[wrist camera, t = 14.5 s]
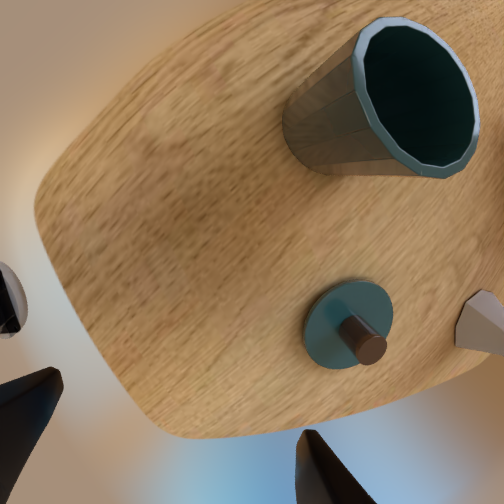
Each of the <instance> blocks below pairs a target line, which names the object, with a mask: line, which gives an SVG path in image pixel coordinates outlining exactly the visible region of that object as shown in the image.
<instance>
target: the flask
mask: <svg viewBox="0 0 504 504" xmlns="http://www.w3.org/2000/svg"><path fill="white" fill-rule="evenodd" d="M456 347H460V348H465V349H471V350H477V351H483V352H488V353H493V354H498V355H502V356H504V307H503V306H502V304H501V303H500V302H499V300H498V299H497V298H496V296H495V295H494V294H493V293H491V292H488V291H484V290H481V291H479V292H478V293H477V294H476V295H475V296H473V297H472V298H471V299H469V300H468V301H467V302H466V303H465V306H464V309H463V311H462V314H461V316H460V318H459V321H458V323H457V325H456Z"/></svg>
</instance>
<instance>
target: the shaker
mask: <svg viewBox="0 0 504 504" xmlns="http://www.w3.org/2000/svg"><path fill="white" fill-rule="evenodd" d="M282 127H283V133H284V137H285V140H286V143H287V145H288V147H289V149H290V150H291V152H292V153H293V155H294V156H295V157H296V158H297V159H298V160H299V161H300V162H301V163H302V164H303V165H305V166H306V167H308V168H309V169H311V170H313V171H315V172H318V173H320V174H324V175H332V176H334V175H335V176H388V177H414V178H432V179H446V178H448V177H450V176H452V175H454V174H456V173H458V172H460V171H462V170H463V169H464V168H465V167H466V165H467V164H468V162H469V161H470V159H471V157H472V156H473V154H474V153H475V150H476V147H477V142H478V137H479V131H480V116H479V107H478V100H477V96H476V93H475V90H474V87H473V85H472V82H471V80H470V77H469V75H468V72H467V71H466V69H465V67H464V66H463V64H462V63H461V61H460V60H459V58H458V57H457V55H456V54H455V53H454V51H453V50H452V49H451V47H450V46H449V45H448V44H447V43H446V42H445V41H444V40H442V39H441V38H440V37H439V36H438V35H436V34H435V33H434V32H433V31H432V30H430V29H429V28H428V27H426V26H424V25H422V24H419V23H417V22H414V21H412V20H410V19H407V18H404V17H379V18H377V19H375V20H374V21H372V22H371V23H370V24H368V25H367V26H365V27H364V28H362V29H361V30H360V31H359V32H357V33H356V34H355V35H354V36H353V37H352V38H351V39H349V40H348V41H347V42H346V43H345V44H344V45H343V46H342V47H340V48H339V49H338V50H337V51H336V52H335V53H334V54H333V55H332V56H331V57H329V58H328V59H327V60H326V61H325V62H324V63H323V64H322V65H321V66H320V67H319V68H318V69H317V70H316V71H315V72H313V73H312V74H311V75H310V76H309V77H308V78H307V79H306V80H305V81H304V82H303V83H302V84H301V85H300V86H299V87H298V88H297V89H296V90H295V91H294V92H293V93H292V94H291V96H290V98H289V99H288V101H287V103H286V105H285V108H284V111H283V116H282Z"/></svg>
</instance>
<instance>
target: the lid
mask: <svg viewBox="0 0 504 504" xmlns="http://www.w3.org/2000/svg"><path fill="white" fill-rule="evenodd" d="M392 320H393V307H392V302H391V300H390V297H389V296H388V294H387V293H386V291H385V290H384V289H383V288H381V287H380V286H379V285H377V284H375V283H374V282H371V281H368V280H363V279H356V280H349V281H345V282H342V283H340V284H338V285H336V286H334V287H332V288H331V289H329V290H328V291H326V292H325V293H324V294H323V295H322V296H321V297H320V298H319V299H318V300H317V301H316V302H315V304H314V305H313V306H312V308H311V310H310V311H309V313H308V316H307V318H306V321H305V324H304V329H303V341H304V345H305V348H306V350H307V352H308V354H309V356H310V357H311V358H312V359H313V360H314V361H315V362H316V363H317V364H319V365H321V366H323V367H325V368H329V369H345V368H349V367H352V366H355V365H357V364H360V363H361V364H363V365H371V364H374V363H376V362H377V361H378V360H380V359H381V358H382V356H383V355H384V353H385V351H386V349H387V342H386V337H387V335H388V333H389V331H390V328H391V325H392Z"/></svg>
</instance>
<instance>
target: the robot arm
mask: <svg viewBox="0 0 504 504" xmlns="http://www.w3.org/2000/svg"><path fill="white" fill-rule="evenodd" d="M16 327H17V328H16ZM20 330H21V326H20V323H19V321H18V318H17V316H16V313H15V310H14V308H13V305H12V302H11V299H10V296H9V293H8V290H7V287H6V284H5V281H4V277H3V274H2V271H1V269H0V334H6V333H18V332H19V331H20ZM63 388H64V385H63V381H62V377H61V373H60V371H59V370H58V369H56V368H54V367H47V368H45V369H42V370H39V371H37V372H34V373H31V374H28V375H26V376H23V377H20V378H18V379H15V380H12V381H9V382H6V383H4V384H1V385H0V504H6V502H7V500H8V498H9V496H10V493H11V491H12V489H13V487H14V484H15V483H16V481H17V479H18V477H19V475H20V473H21V471H22V469H23V467H24V465H25V463H26V461H27V459H28V458H29V456H30V454H31V452H32V450H33V449H34V447H35V445H36V443H37V441H38V440H39V438H40V436H41V434H42V433H43V431H44V429H45V427H46V426H47V424H48V422H49V420H50V418H51V416H52V414H53V412H54V410H55V407H56V405H57V403H58V401H59V398H60V396H61V394H62V392H63ZM295 489H296V501H297V504H377V503H376V502H375V501H374V500H373V499H372V498H371V497H370V495H368V494H367V492H366V491H365V490H364V489H363V487H362V486H361V485H360V484H359V483H358V481H357V480H356V479H355V478H354V477H353V476H352V474H351V473H350V472H349V471H348V470H347V468H346V467H345V466H344V465H343V463H342V462H341V461H340V460H339V458H338V457H337V456H336V455H335V454H334V452H333V451H332V450H331V448H330V447H329V446H328V445H327V443H326V442H325V441H324V440H323V438H322V437H321V436H320V434H319V433H318V432H317V431H316V430H309V429H306V430H304V431H303V432H302V434H301V436H300V438H299V440H298V442H297V446H296V469H295Z"/></svg>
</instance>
